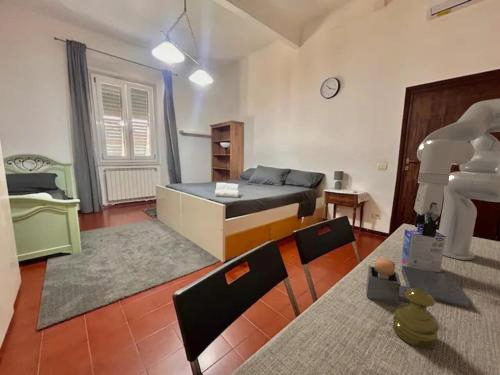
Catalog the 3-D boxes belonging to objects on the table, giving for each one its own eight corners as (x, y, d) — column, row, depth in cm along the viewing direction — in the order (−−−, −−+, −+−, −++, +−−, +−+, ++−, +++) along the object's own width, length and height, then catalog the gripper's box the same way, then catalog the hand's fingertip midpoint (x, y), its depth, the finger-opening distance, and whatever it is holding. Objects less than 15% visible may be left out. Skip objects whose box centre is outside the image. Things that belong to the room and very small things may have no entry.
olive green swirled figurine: (442, 339, 45) (450, 295, 44) (426, 356, 41) (435, 308, 40) (402, 316, 51) (408, 277, 50) (385, 329, 47) (391, 287, 46)
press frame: (365, 263, 76) (367, 246, 75) (449, 281, 66) (452, 262, 65) (366, 297, 58) (369, 276, 57) (483, 329, 48) (488, 304, 47)
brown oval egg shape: (372, 275, 61) (375, 256, 60) (391, 279, 59) (394, 260, 59) (373, 283, 57) (376, 263, 57) (393, 288, 56) (396, 267, 55)
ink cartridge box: (431, 264, 76) (438, 224, 74) (441, 273, 71) (449, 230, 69) (399, 261, 78) (405, 221, 76) (407, 269, 73) (413, 227, 71)
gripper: (412, 176, 79) (405, 223, 82) (425, 180, 64) (415, 237, 66) (439, 178, 76) (430, 226, 79) (459, 183, 61) (448, 242, 63)
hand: (423, 231), depth 72 cm, fingers open, 9 cm apart
